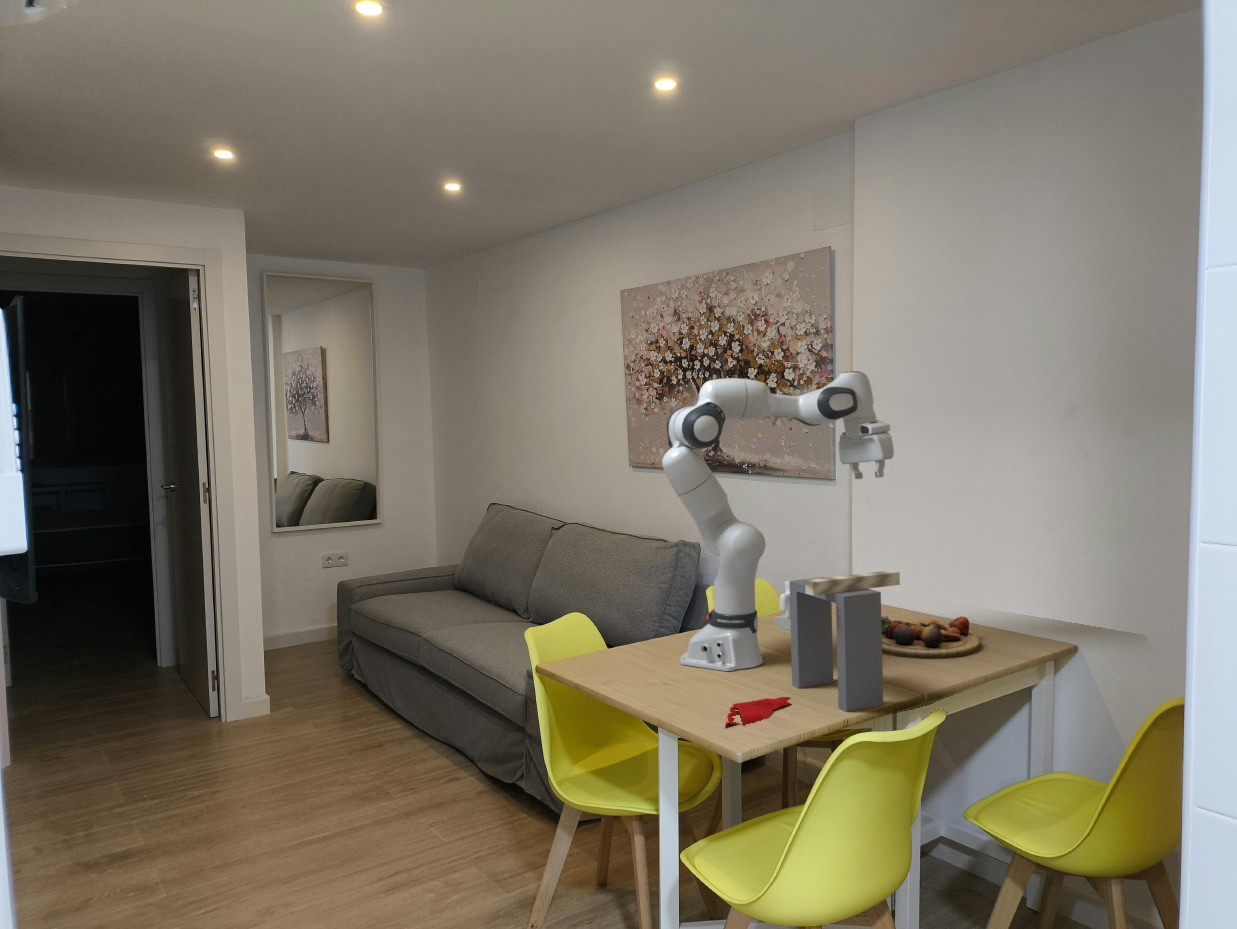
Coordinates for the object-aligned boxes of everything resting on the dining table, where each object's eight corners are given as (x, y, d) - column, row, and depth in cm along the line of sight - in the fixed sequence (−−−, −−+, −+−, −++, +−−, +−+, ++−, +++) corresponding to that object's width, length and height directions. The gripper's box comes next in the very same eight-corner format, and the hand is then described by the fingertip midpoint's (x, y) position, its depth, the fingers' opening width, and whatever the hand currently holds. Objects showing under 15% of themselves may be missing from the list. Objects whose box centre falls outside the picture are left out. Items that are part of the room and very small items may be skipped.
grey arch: (846, 711, 192) (843, 596, 190) (792, 685, 212) (789, 581, 211) (883, 705, 195) (880, 592, 194) (826, 679, 216) (823, 577, 214)
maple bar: (813, 595, 193) (812, 582, 193) (805, 593, 196) (805, 580, 195) (899, 584, 201) (899, 572, 201) (891, 582, 204) (891, 570, 204)
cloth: (775, 694, 207) (774, 685, 207) (818, 709, 196) (818, 699, 196) (691, 719, 193) (691, 709, 193) (733, 736, 181) (733, 725, 181)
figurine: (772, 629, 268) (771, 582, 268) (789, 624, 275) (788, 577, 274) (792, 633, 263) (791, 584, 262) (809, 627, 270) (807, 580, 269)
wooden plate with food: (961, 630, 260) (960, 603, 260) (997, 660, 229) (996, 629, 228) (853, 632, 264) (853, 605, 263) (874, 661, 232) (873, 630, 231)
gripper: (830, 434, 247) (838, 481, 247) (874, 426, 228) (882, 478, 227) (848, 431, 249) (856, 478, 249) (893, 423, 230) (902, 474, 230)
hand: (869, 478), depth 238 cm, fingers open, 8 cm apart
